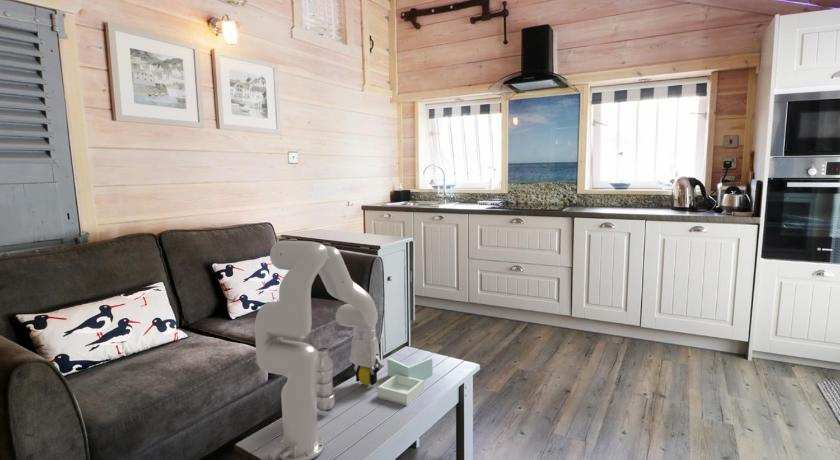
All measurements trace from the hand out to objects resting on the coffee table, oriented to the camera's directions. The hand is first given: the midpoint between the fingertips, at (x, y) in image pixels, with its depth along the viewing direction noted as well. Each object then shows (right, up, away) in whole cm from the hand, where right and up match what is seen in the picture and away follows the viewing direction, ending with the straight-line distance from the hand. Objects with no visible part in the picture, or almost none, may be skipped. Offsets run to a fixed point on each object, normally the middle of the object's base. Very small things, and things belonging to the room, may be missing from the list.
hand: (366, 381), depth 164 cm
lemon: (0, -2, 0) cm, 2 cm away
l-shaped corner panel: (+16, -1, +6) cm, 17 cm away
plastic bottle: (-12, -4, -16) cm, 20 cm away
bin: (+13, -2, -7) cm, 15 cm away
